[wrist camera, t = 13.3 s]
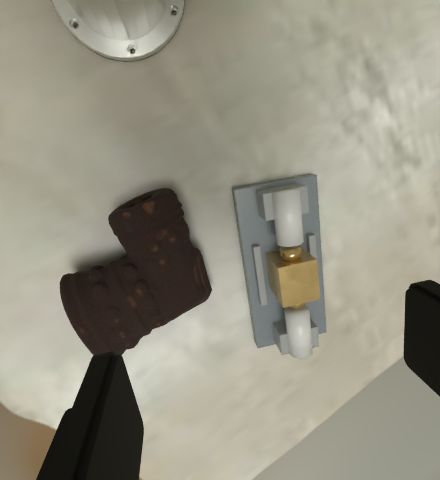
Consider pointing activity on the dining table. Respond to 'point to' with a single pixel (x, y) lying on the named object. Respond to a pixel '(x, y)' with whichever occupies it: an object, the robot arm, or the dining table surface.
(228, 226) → the dining table surface
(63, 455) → the robot arm
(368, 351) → the dining table surface
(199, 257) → the dark brown l-shaped piece
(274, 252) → the coupler
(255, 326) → the grey fixture base
